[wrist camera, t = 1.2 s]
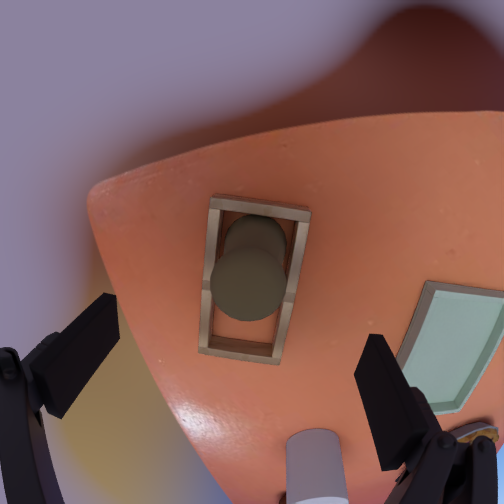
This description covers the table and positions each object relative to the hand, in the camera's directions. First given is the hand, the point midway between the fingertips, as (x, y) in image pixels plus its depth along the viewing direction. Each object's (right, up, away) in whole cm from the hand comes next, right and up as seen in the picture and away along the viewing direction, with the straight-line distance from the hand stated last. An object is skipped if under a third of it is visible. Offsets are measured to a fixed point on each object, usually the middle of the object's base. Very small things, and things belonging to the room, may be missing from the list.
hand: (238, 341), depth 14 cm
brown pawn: (+1, +5, +15) cm, 16 cm away
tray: (+26, -9, +18) cm, 33 cm away
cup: (+10, -25, +24) cm, 36 cm away
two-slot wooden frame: (0, +1, +16) cm, 16 cm away
